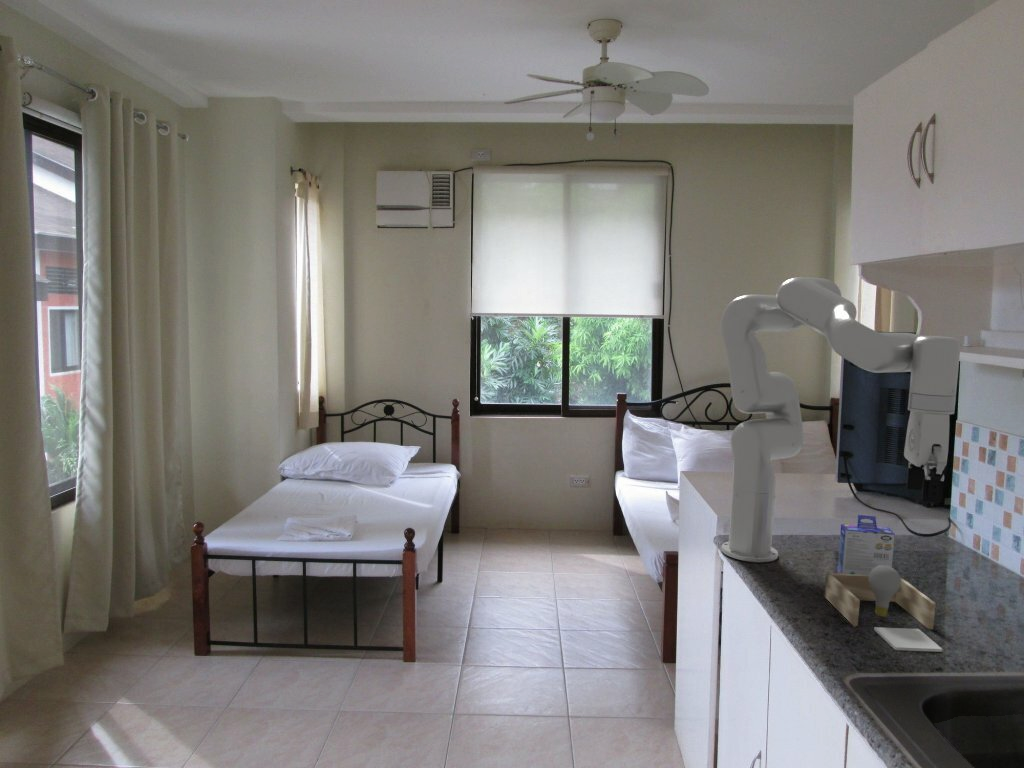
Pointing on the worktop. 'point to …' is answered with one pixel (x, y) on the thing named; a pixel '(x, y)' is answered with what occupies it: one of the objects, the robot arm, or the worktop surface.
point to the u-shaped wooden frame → (853, 588)
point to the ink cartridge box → (864, 547)
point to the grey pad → (907, 639)
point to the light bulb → (883, 587)
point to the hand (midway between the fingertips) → (923, 495)
